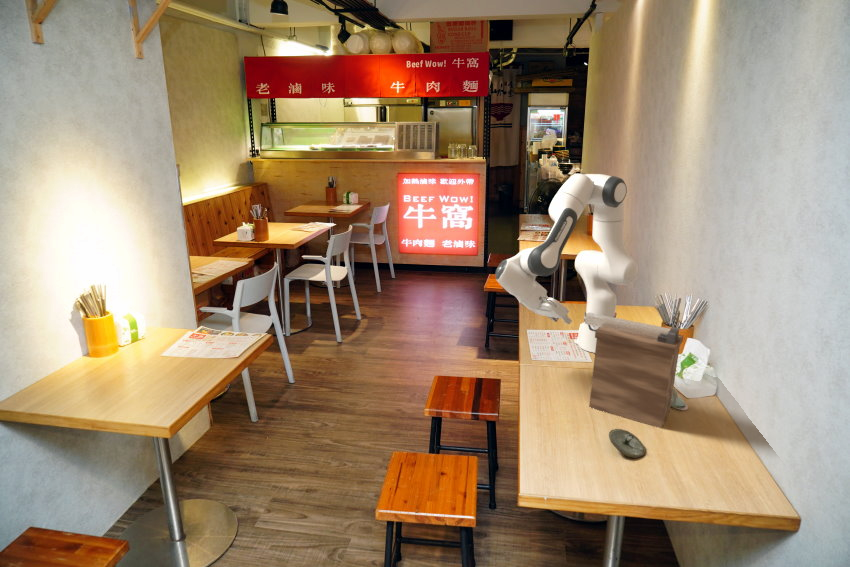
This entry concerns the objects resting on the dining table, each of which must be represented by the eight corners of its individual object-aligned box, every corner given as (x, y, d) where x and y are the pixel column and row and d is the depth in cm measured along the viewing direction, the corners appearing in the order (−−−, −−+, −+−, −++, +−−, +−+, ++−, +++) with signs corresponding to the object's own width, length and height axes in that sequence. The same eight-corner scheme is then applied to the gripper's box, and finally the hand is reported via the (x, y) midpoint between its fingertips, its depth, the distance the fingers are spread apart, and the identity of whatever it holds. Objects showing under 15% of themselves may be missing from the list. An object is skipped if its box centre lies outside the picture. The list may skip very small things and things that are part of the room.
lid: (615, 435, 169) (617, 420, 168) (649, 447, 163) (652, 431, 162) (601, 451, 161) (603, 435, 160) (637, 464, 155) (639, 447, 154)
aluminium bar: (587, 321, 187) (588, 312, 186) (669, 338, 174) (670, 328, 173) (584, 323, 184) (585, 314, 183) (667, 341, 171) (668, 331, 170)
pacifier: (684, 402, 190) (665, 400, 191) (688, 385, 189) (668, 382, 190) (689, 413, 183) (669, 410, 184) (693, 395, 182) (673, 392, 183)
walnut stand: (599, 392, 195) (608, 311, 187) (671, 412, 183) (684, 326, 175) (587, 407, 185) (596, 322, 177) (662, 429, 173) (676, 339, 165)
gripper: (553, 290, 187) (583, 316, 190) (527, 288, 207) (554, 312, 210) (542, 306, 186) (572, 331, 189) (517, 302, 206) (545, 325, 209)
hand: (563, 321), depth 200 cm, fingers open, 8 cm apart
